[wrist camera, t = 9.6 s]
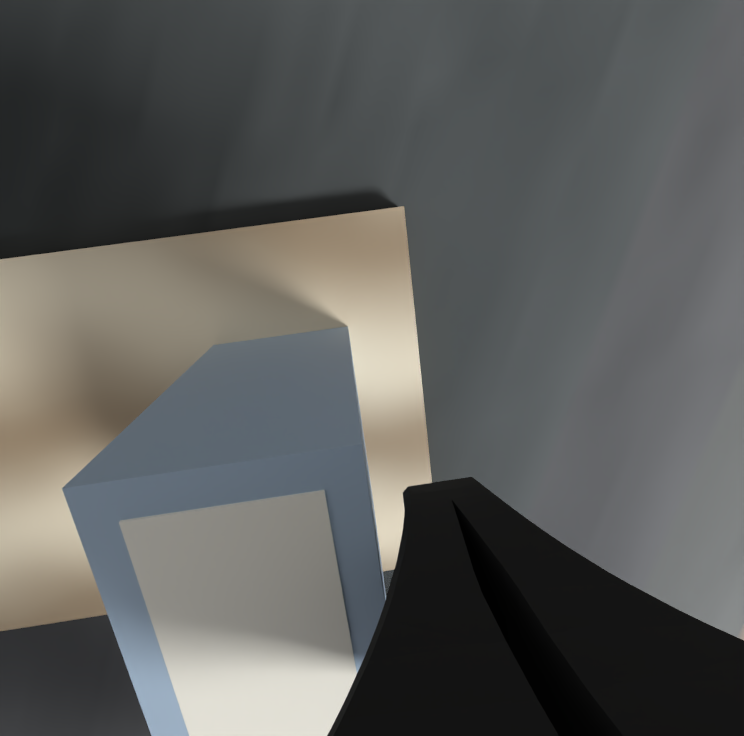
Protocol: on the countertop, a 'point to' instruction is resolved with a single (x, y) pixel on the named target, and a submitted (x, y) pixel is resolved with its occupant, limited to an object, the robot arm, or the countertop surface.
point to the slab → (240, 540)
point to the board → (185, 368)
